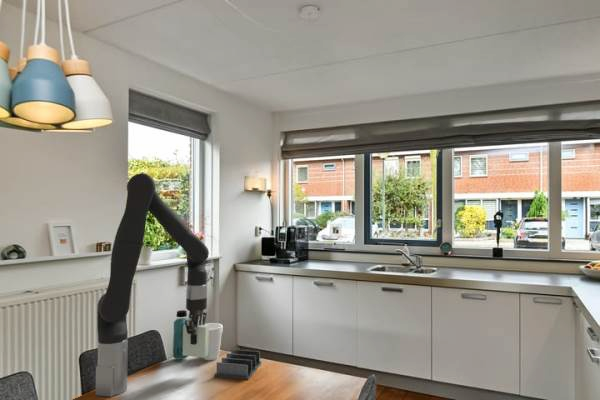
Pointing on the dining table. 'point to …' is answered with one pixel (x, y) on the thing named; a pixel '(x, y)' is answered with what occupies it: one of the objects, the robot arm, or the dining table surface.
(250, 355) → the rack
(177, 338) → the beverage bottle
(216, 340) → the foam cup
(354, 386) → the dining table surface
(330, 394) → the dining table surface
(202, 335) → the tile
